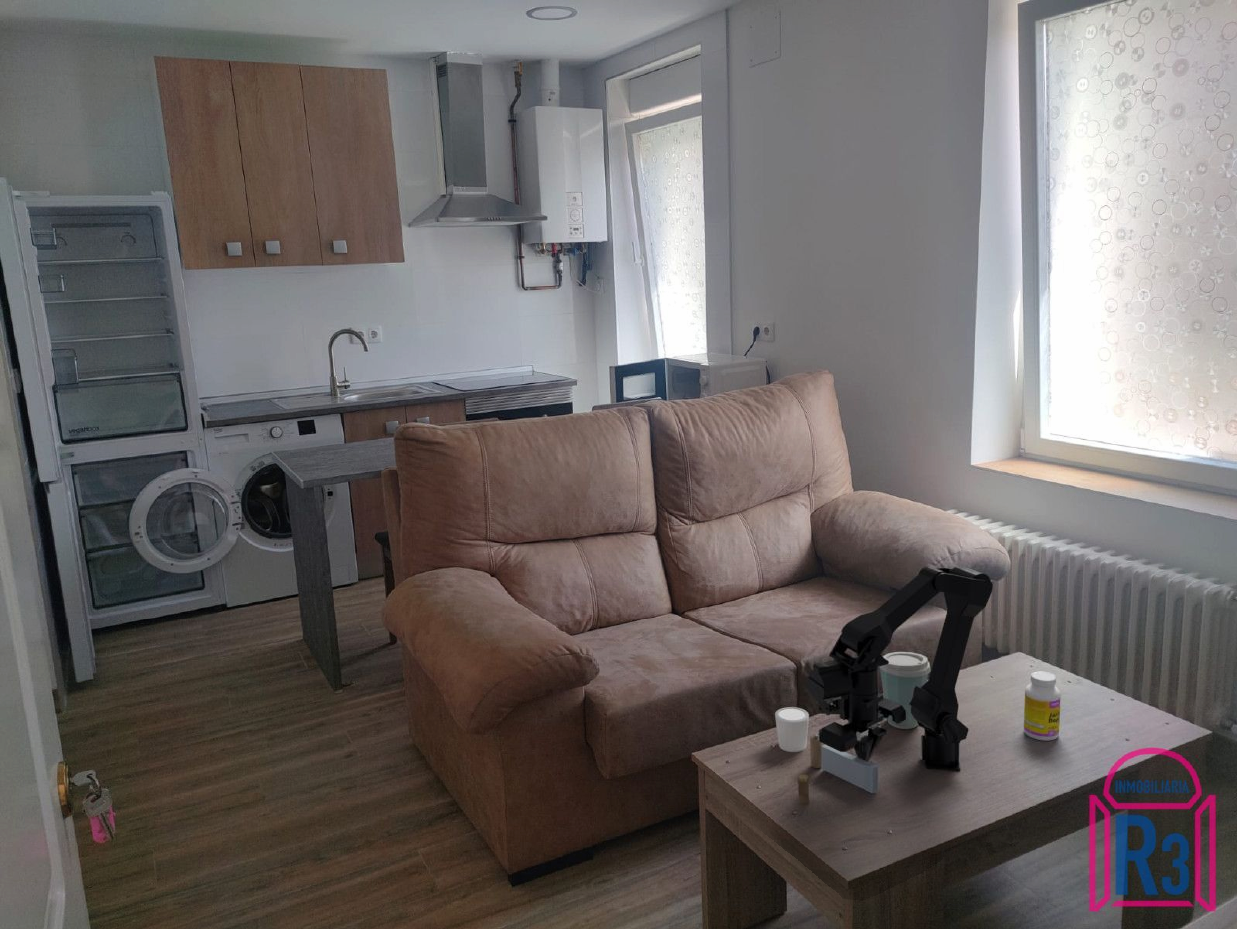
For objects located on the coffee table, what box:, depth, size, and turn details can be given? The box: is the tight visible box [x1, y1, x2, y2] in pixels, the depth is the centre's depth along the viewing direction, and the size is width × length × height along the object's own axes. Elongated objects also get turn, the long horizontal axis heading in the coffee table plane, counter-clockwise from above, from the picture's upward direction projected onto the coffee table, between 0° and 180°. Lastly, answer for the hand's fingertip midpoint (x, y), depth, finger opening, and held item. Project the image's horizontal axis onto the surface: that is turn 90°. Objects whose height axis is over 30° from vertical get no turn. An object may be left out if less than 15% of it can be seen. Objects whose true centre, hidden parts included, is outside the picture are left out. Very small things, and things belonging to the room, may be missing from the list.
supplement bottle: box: [1023, 670, 1062, 742], centre depth 189 cm, size 7×7×13 cm
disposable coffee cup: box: [878, 651, 931, 730], centre depth 197 cm, size 11×11×15 cm
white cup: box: [774, 706, 810, 753], centre depth 191 cm, size 7×7×7 cm
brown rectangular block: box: [797, 774, 810, 805], centre depth 170 cm, size 2×2×5 cm
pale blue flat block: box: [809, 733, 879, 794], centre depth 177 cm, size 15×2×6 cm, turn 38°
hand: (863, 764), depth 176 cm, fingers closed
